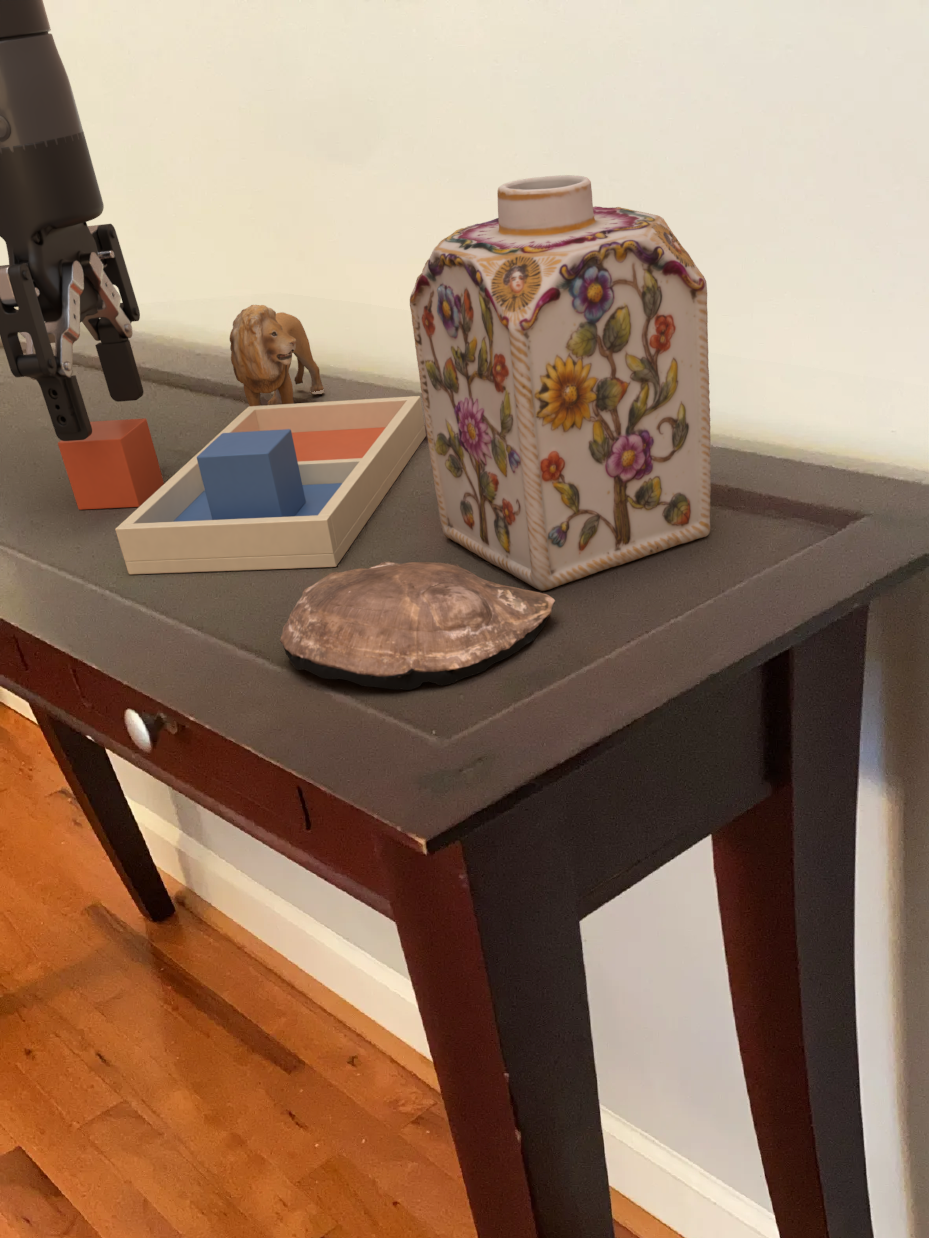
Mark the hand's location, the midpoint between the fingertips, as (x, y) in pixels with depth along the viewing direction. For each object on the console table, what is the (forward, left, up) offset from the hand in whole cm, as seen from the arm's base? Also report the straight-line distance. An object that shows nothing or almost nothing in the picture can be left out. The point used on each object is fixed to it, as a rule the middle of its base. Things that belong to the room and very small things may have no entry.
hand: (103, 418), depth 85 cm
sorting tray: (+13, -2, -5) cm, 14 cm away
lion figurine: (+7, +17, -5) cm, 19 cm away
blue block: (+13, -8, -4) cm, 16 cm away
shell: (+26, -24, -5) cm, 36 cm away
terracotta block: (0, 0, -5) cm, 5 cm away
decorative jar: (+33, -11, -5) cm, 35 cm away
